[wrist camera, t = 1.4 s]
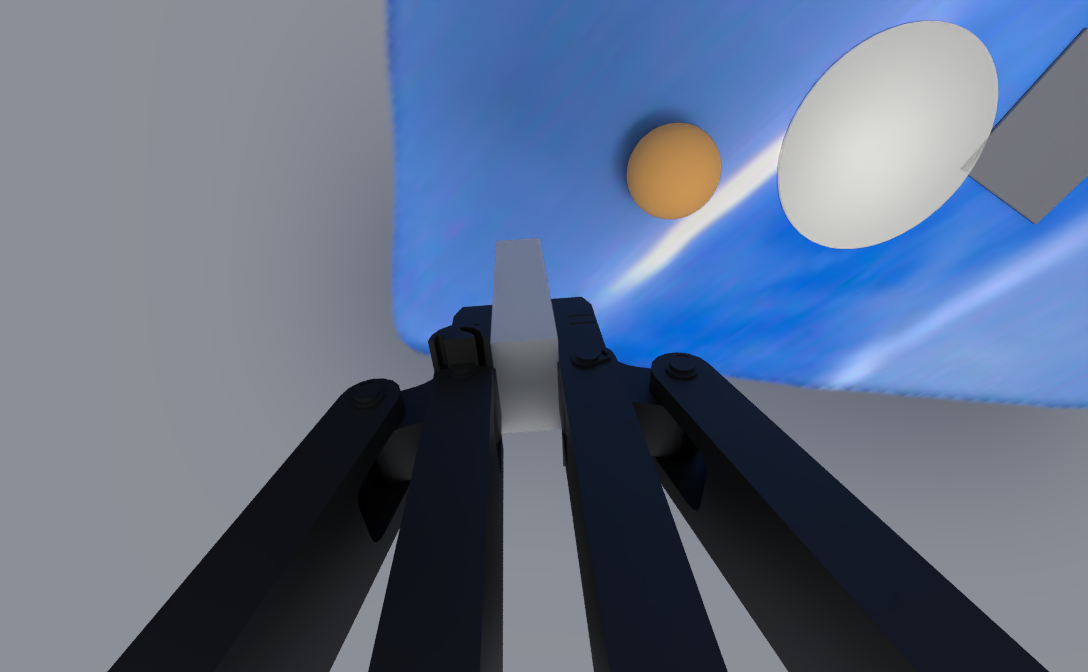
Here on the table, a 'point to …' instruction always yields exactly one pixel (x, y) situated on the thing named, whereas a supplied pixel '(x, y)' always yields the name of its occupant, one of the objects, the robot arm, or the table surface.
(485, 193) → the table surface
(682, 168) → the ball
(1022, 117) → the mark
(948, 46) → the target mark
